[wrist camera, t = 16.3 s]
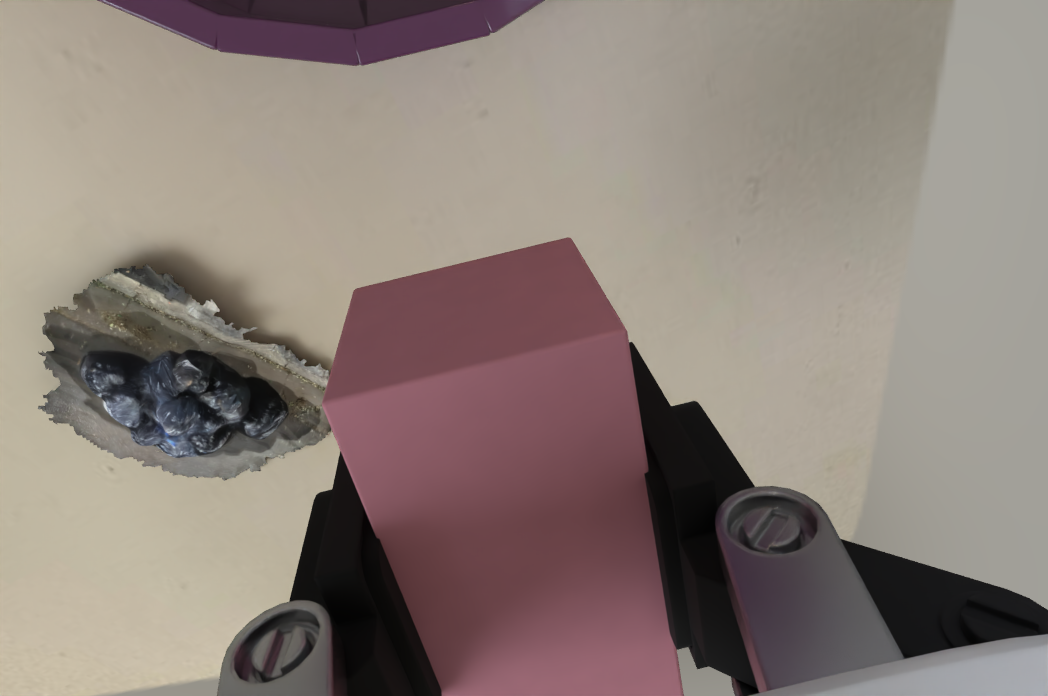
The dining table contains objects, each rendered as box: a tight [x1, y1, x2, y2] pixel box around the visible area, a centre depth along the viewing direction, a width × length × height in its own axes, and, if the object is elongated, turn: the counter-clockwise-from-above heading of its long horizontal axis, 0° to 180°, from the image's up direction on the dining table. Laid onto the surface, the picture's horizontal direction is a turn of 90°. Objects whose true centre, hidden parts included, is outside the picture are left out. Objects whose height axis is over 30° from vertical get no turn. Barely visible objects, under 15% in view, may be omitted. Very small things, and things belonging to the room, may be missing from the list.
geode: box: [38, 264, 331, 481], centre depth 19 cm, size 7×8×2 cm
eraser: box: [322, 238, 684, 696], centre depth 11 cm, size 7×4×4 cm, turn 12°
